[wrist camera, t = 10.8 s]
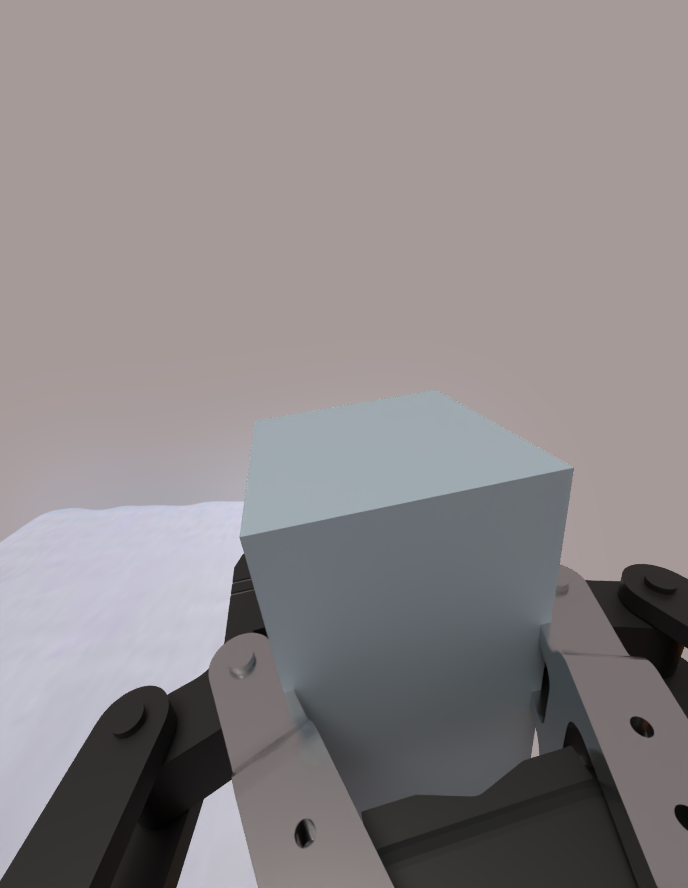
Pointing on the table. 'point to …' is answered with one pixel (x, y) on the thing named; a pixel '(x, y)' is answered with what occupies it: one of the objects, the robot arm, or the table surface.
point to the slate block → (407, 586)
